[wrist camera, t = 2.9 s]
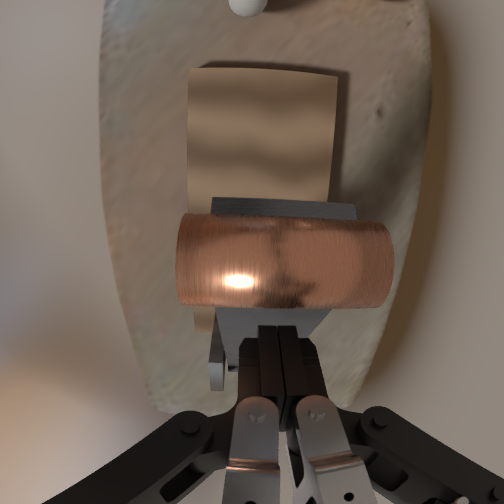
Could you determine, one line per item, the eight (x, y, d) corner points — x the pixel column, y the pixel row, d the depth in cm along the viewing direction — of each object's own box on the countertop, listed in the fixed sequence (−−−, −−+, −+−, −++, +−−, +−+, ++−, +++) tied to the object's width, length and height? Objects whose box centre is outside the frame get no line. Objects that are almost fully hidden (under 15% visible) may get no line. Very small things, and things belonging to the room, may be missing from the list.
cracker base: (192, 71, 26) (156, 45, 14) (332, 78, 26) (385, 61, 15) (197, 321, 39) (182, 400, 27) (303, 324, 40) (321, 402, 28)
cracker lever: (197, 131, 11) (170, 283, 8) (362, 142, 11) (401, 287, 8) (222, 320, 32) (220, 377, 29) (283, 322, 32) (284, 378, 29)
